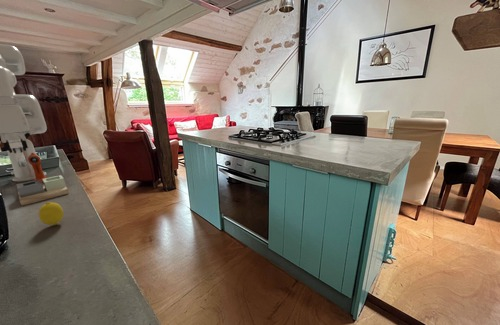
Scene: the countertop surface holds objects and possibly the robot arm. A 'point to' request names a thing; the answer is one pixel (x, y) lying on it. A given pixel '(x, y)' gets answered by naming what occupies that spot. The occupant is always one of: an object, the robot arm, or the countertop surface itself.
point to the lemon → (51, 213)
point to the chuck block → (30, 188)
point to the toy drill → (36, 166)
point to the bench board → (43, 195)
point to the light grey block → (18, 152)
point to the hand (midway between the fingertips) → (17, 150)
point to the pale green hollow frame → (54, 183)
